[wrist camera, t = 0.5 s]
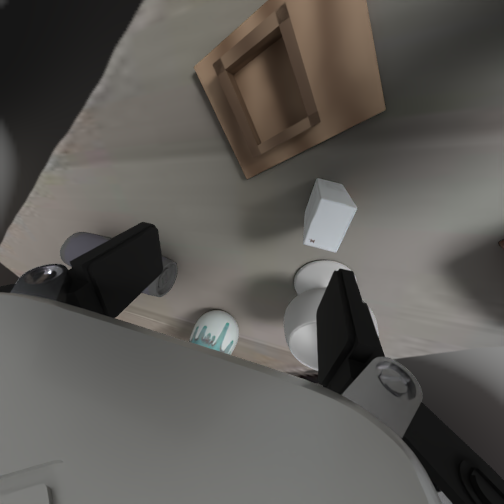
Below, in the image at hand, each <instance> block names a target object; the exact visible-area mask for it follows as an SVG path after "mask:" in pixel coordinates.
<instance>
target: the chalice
mask: <svg viewBox="0 0 504 504" xmlns="http://www.w3.org/2000/svg"><path fill="white" fill-rule="evenodd" d="M340 268H341V269H345V270H349V271H352V270H351V269H350V268H348V267H347V266H346V265H344V264H341V263H339V262H336V261H332V260H318V261H314V262H310V263H308V264H306V265H304V266H303V267H302V268H301V269H299V270H298V272H297V274H296V275H295V278H294V287H295V290H296V292H297V294H298V295H297V296H296V297H295V298H294V299H293V300H292V301H291V302H290V304H289V305H288V307H287V308H286V311H285V315H284V332H285V338H286V342H287V344H288V346H289V349H290V351H291V353H292V354H293V355H294V356H295V358H296V359H297V360H299V361H300V362H301V363H302V364H304V365H306V366H308V367H309V368H312V369H314V370H317V371H318V352H317V325H316V313H317V309H318V306H319V304H320V302H321V299H322V297H323V295H324V292H325V290H326V288H327V286H328V283H329V281H330V279H331V276H332V274H333V272H334V271H335V270H336V271H338V270H339V269H340ZM354 276H355V274H354ZM355 279H356V276H355ZM356 282H357V279H356ZM362 301H363V300H362ZM363 302H364V301H363ZM364 303H365V302H364ZM368 308H369V307H368ZM369 311H370V314H371V317H372V320H373V323H374V326H375V329H376V332H377V335H378V338H379V333H378V327H377V321H376V318H375V316H374V314H373V312H372V310H371V309H370V308H369Z"/></svg>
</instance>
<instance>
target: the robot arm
mask: <svg viewBox="0 0 504 504" xmlns="http://www.w3.org/2000/svg"><path fill="white" fill-rule="evenodd" d="M70 264H71V267H72V269H70V270H68V269H67V267H66V266H64V265H62V264H48V265H43V266H40V267H36V268H34V269H32V270H29V271H27V272H26V273H24V274H23V275H22V276H21V277H20V278H19V280H18V281H17V283H16V284H11V285H6V286H1V287H0V504H504V480H503V479H502V478H501V477H500V476H499V475H498V474H497V473H496V472H495V471H494V470H493V469H492V468H491V467H490V466H489V465H488V464H487V463H486V462H485V461H483V459H481V458H480V457H479V456H478V455H477V454H476V453H475V452H474V451H473V450H472V449H471V448H470V447H469V446H467V444H465V442H463V441H462V440H461V439H460V438H459V437H458V436H457V435H456V434H455V433H454V432H453V431H452V430H451V429H449V428H448V426H446V425H445V424H444V423H443V422H442V421H441V420H440V419H439V418H438V417H437V416H436V415H435V414H434V413H433V412H432V411H430V410H429V409H428V408H427V407H426V406H425V405H424V404H423V403H422V402H421V401H422V396H423V395H422V390H421V387H420V386H419V384H418V381H417V380H416V378H415V377H414V376H413V375H412V373H411V372H410V371H409V370H407V369H406V368H405V367H404V366H403V365H401V364H400V363H399V362H397V361H395V360H393V359H391V358H387V357H385V356H384V353H383V350H382V347H381V344H380V341H379V338H378V335H377V332H376V329H375V326H374V323H373V320H372V317H371V314H370V311H369V308H368V306H367V304H366V303H364V302H363V301H362V298H361V295H360V292H359V289H358V285H357V282H356V279H355V276H354V273H353V271H349V270H345V269H341V268H340V269H339V270H338V271H336V270H335V271H334V272H333V274H332V276H331V279H330V281H329V283H328V286H327V288H326V290H325V292H324V295H323V297H322V299H321V302H320V304H319V306H318V309H317V313H316V325H317V352H318V379H319V384H321V385H323V387H322V386H320V385H317V384H315V383H312V382H310V381H307V380H304V379H301V378H298V377H295V376H293V375H289V374H287V373H284V372H281V371H278V370H275V369H272V368H269V367H266V366H263V365H260V364H257V363H254V362H251V361H248V360H245V359H241V358H238V357H235V356H232V355H229V354H226V353H223V352H220V351H217V350H213V349H210V348H207V347H204V346H201V345H198V344H195V343H191V342H188V341H185V340H182V339H179V338H176V337H173V336H169V335H166V334H163V333H160V332H157V331H153V330H150V329H147V328H144V327H141V326H138V325H134V324H131V323H128V322H125V321H121V320H118V319H115V317H117V316H118V315H119V314H120V313H121V312H122V311H123V310H124V309H125V308H126V307H127V306H128V305H129V304H130V303H131V302H132V301H133V300H134V299H135V298H136V297H137V296H139V295H140V294H141V293H142V292H143V291H144V290H145V289H146V288H147V287H148V286H149V285H150V284H151V283H152V282H153V281H154V280H155V279H156V278H157V277H158V276H159V275H160V274H161V273H162V272H163V262H162V255H161V248H160V241H159V234H158V229H157V228H156V227H155V225H153V224H149V223H145V222H142V223H140V224H138V225H136V226H134V227H132V228H130V229H128V230H127V231H125V232H123V233H121V234H119V235H117V236H116V237H114V238H112V239H110V240H108V241H106V242H105V243H103V244H101V245H99V246H97V247H95V248H94V249H92V250H90V251H88V252H86V253H84V254H82V255H81V256H79V257H77V258H75V259H73V260H71V261H70Z"/></svg>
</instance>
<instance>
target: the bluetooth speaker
mask: <svg viewBox="0 0 504 504" xmlns="http://www.w3.org/2000/svg"><path fill="white" fill-rule="evenodd" d="M110 239H111V238H107V237H103V236H100V235H96V234H92V233H86V232H78V233H75V234H73V235H72V236H70V237H69V238H68V239H67V240H66V241H65V242H64V244H63V245H62V247H61V250H60V256H61V259H62V260H63V262H64V263H66V264H68V265H69V266H71V264H70V261H71V260H73V259H75V258H77V257H79V256H81V255H82V254H84V253H86V252H88V251H90V250H92V249H94V248H95V247H97V246H99V245H101V244H103V243H105V242H106V241H108V240H110ZM162 262H163V272H162V273H161V274H160V275H159V276H158V277H157V278H156V279H155V280H154V281H153V282H152V283H151V284H150V285H149V286H148V287H147V288H146V289H145V290H144V291H143V292H142V293H145V294H148V295H152V296H157V297H161V296H163V295H165V294H166V293H168V292H169V291H170V289H171V288H172V286H173V284H174V282H175V280H176V277H177V263H176V262H174V261H172V260H170V259H168V258H165V257H163V256H162Z"/></svg>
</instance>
